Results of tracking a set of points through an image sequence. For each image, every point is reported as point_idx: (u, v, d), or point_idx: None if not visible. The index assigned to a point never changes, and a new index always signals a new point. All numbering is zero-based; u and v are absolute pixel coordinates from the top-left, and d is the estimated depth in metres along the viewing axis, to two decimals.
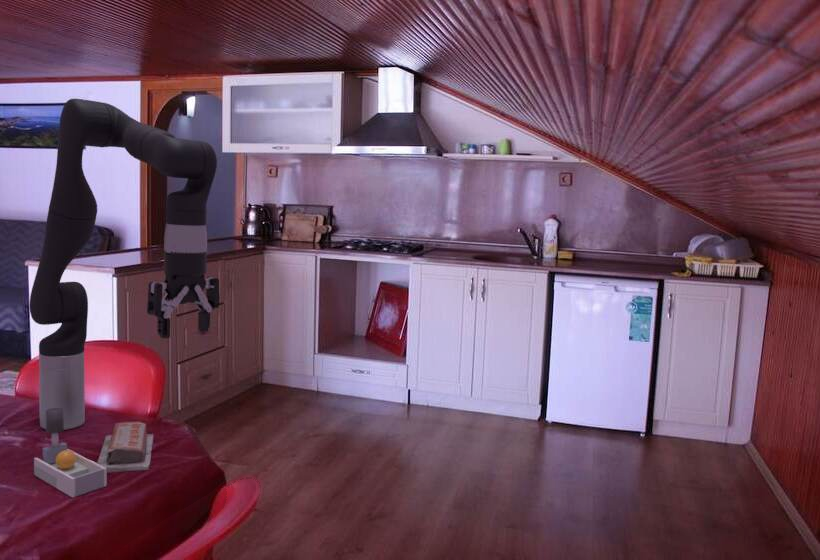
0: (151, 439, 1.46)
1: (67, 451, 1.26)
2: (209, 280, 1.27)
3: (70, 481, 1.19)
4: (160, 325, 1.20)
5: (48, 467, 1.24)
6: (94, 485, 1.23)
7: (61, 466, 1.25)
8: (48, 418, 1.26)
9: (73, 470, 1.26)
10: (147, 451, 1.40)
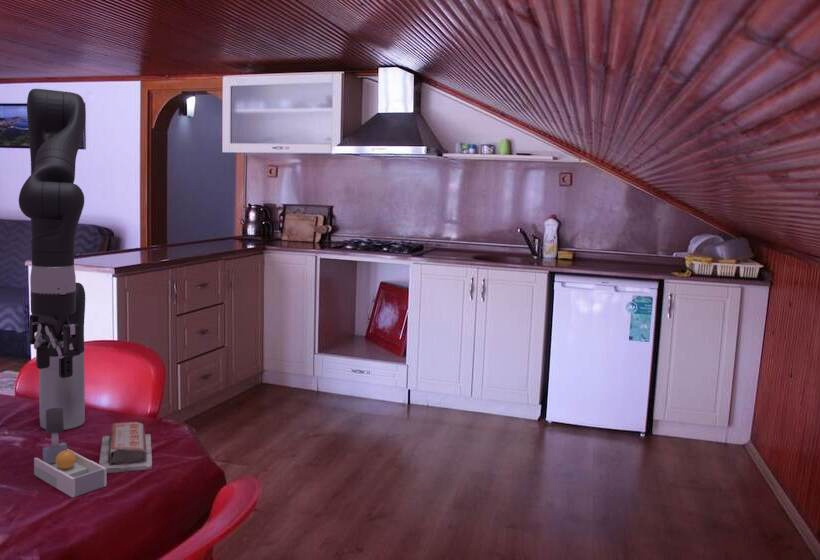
0: (149, 439, 1.46)
1: (67, 451, 1.26)
2: None
3: (70, 481, 1.19)
4: (69, 365, 1.23)
5: (48, 467, 1.24)
6: (94, 485, 1.23)
7: (61, 466, 1.25)
8: (48, 418, 1.26)
9: (73, 470, 1.26)
10: (147, 451, 1.40)
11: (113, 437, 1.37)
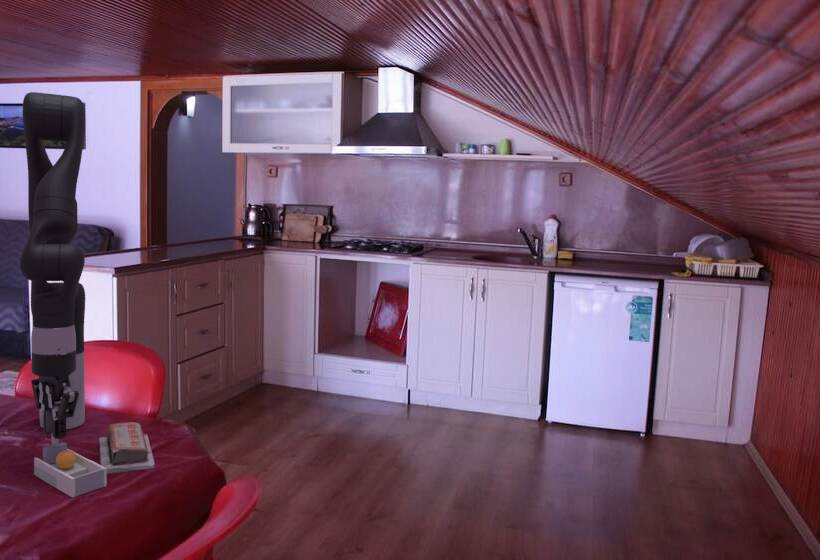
0: (147, 439, 1.46)
1: (67, 451, 1.26)
2: None
3: (70, 481, 1.19)
4: (63, 426, 1.26)
5: (48, 467, 1.24)
6: (94, 485, 1.23)
7: (61, 466, 1.25)
8: (48, 418, 1.26)
9: (73, 470, 1.26)
10: (147, 450, 1.40)
11: (113, 437, 1.37)
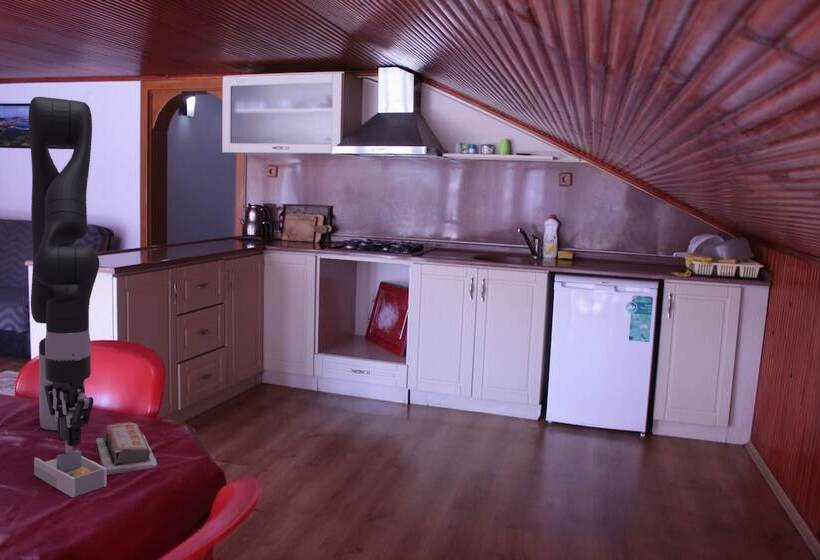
0: (144, 439, 1.46)
1: None
2: None
3: (70, 481, 1.19)
4: (77, 433, 1.23)
5: (48, 467, 1.24)
6: (94, 485, 1.23)
7: None
8: (62, 425, 1.23)
9: (73, 470, 1.26)
10: None
11: (113, 438, 1.37)
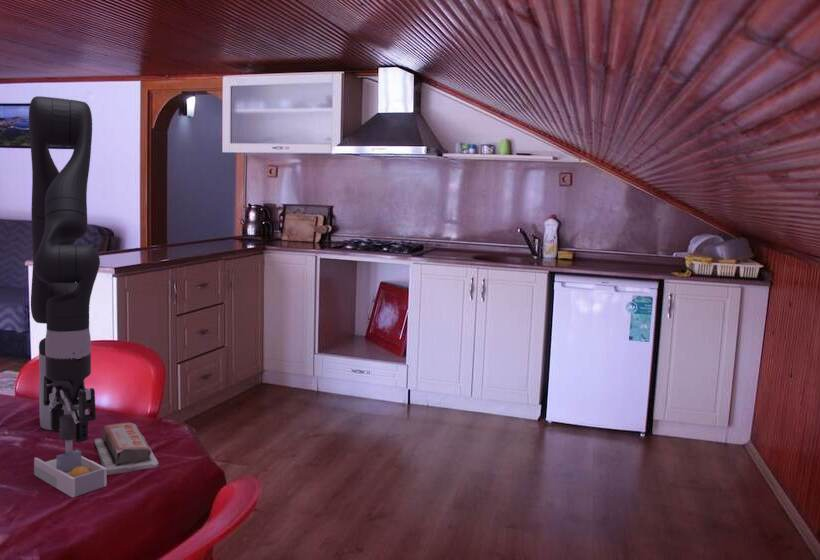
0: (143, 439, 1.46)
1: None
2: None
3: (70, 481, 1.19)
4: (84, 429, 1.22)
5: (48, 467, 1.24)
6: (94, 485, 1.23)
7: (69, 474, 1.23)
8: (62, 425, 1.23)
9: None
10: None
11: (113, 438, 1.37)
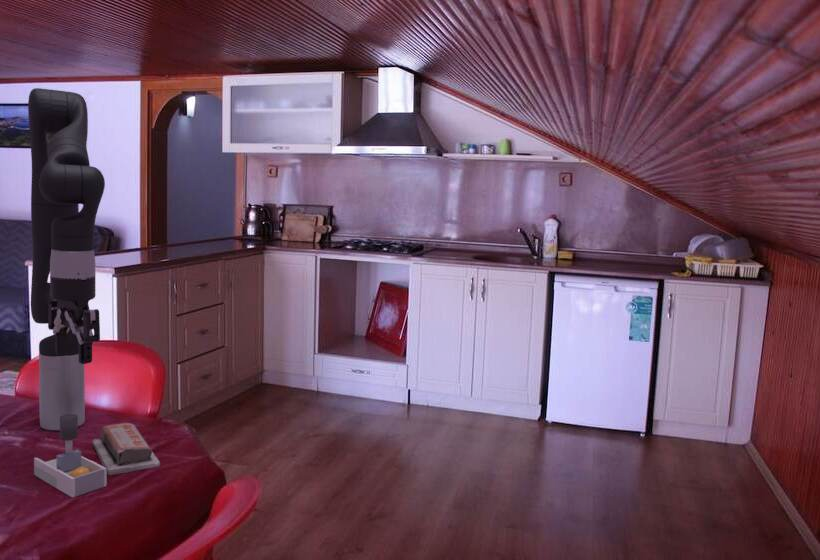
0: None
1: None
2: None
3: (70, 481, 1.19)
4: (89, 351, 1.22)
5: (48, 467, 1.24)
6: (94, 485, 1.23)
7: (71, 473, 1.23)
8: (62, 425, 1.23)
9: (73, 470, 1.26)
10: None
11: (113, 439, 1.36)
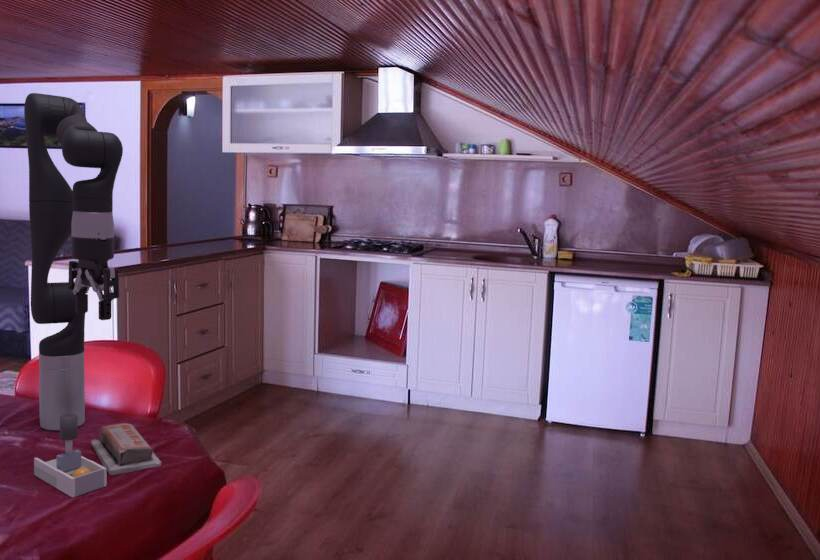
0: None
1: None
2: None
3: (70, 481, 1.19)
4: (108, 307, 1.28)
5: (48, 467, 1.24)
6: (94, 485, 1.23)
7: (73, 473, 1.22)
8: (62, 425, 1.23)
9: (73, 470, 1.26)
10: None
11: (113, 439, 1.36)
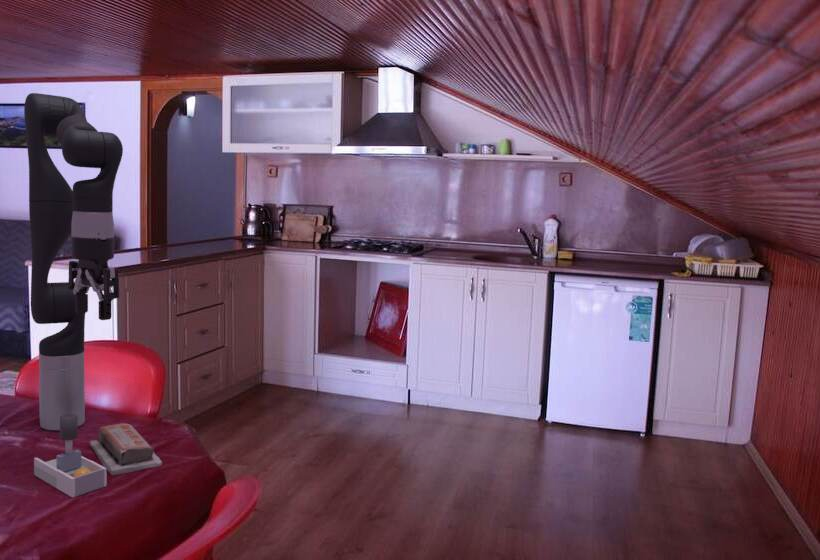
0: None
1: None
2: None
3: (70, 481, 1.19)
4: (108, 307, 1.28)
5: (48, 467, 1.24)
6: (94, 485, 1.23)
7: (74, 473, 1.22)
8: (62, 425, 1.23)
9: (73, 470, 1.26)
10: None
11: (113, 439, 1.36)
